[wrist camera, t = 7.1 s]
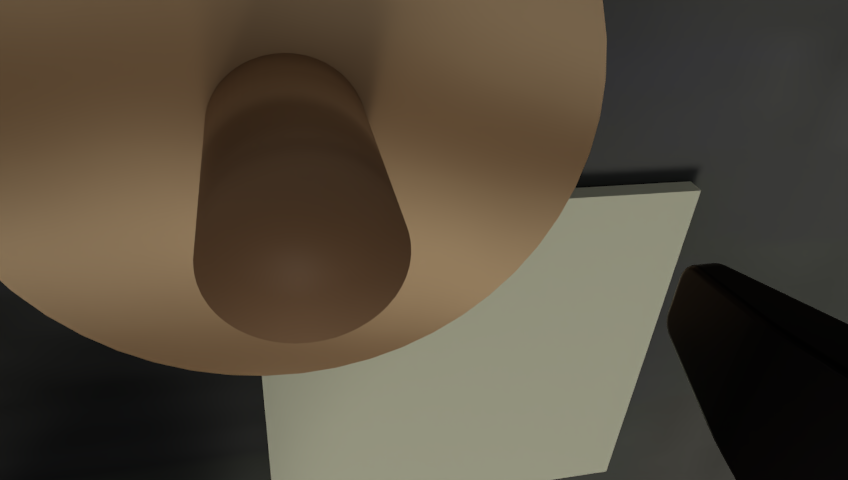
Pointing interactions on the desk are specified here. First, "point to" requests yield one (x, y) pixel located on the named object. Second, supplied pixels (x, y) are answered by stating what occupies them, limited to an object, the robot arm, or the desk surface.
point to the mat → (502, 362)
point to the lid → (284, 167)
